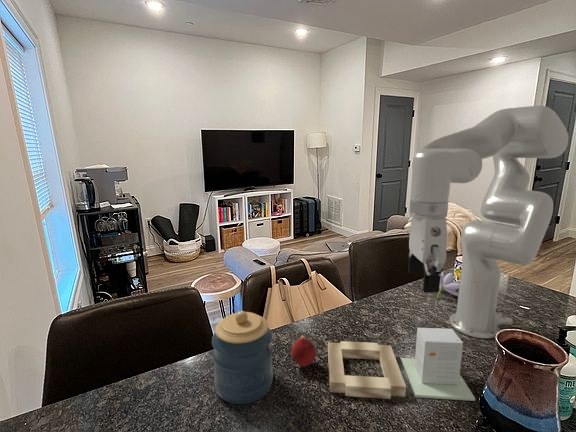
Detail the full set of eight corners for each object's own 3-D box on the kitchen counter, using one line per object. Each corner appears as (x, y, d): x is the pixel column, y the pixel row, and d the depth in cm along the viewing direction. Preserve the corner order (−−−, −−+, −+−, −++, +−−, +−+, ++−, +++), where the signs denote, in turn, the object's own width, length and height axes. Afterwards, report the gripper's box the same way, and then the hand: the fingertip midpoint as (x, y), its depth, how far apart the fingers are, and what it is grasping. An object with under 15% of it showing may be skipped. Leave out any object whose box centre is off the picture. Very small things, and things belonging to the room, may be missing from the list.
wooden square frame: (389, 352, 81) (390, 343, 81) (406, 399, 66) (407, 389, 65) (327, 349, 83) (328, 340, 82) (330, 395, 67) (330, 384, 67)
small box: (448, 368, 74) (453, 328, 72) (459, 385, 69) (464, 342, 67) (413, 366, 75) (416, 326, 73) (421, 383, 69) (425, 341, 67)
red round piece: (317, 360, 78) (318, 331, 77) (312, 376, 73) (312, 345, 71) (295, 355, 80) (295, 327, 78) (288, 370, 75) (288, 340, 73)
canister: (249, 356, 80) (247, 292, 76) (285, 383, 71) (284, 311, 67) (203, 383, 71) (198, 311, 67) (237, 417, 62) (233, 337, 58)
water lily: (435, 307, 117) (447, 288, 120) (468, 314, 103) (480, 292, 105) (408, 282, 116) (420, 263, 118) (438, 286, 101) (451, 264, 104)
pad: (451, 362, 77) (451, 360, 77) (475, 400, 65) (475, 398, 65) (400, 359, 78) (400, 357, 78) (415, 397, 67) (415, 394, 66)
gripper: (466, 217, 59) (457, 300, 63) (430, 201, 76) (424, 267, 80) (425, 217, 60) (418, 300, 64) (398, 201, 77) (394, 267, 80)
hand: (422, 282), depth 72 cm, fingers open, 9 cm apart
